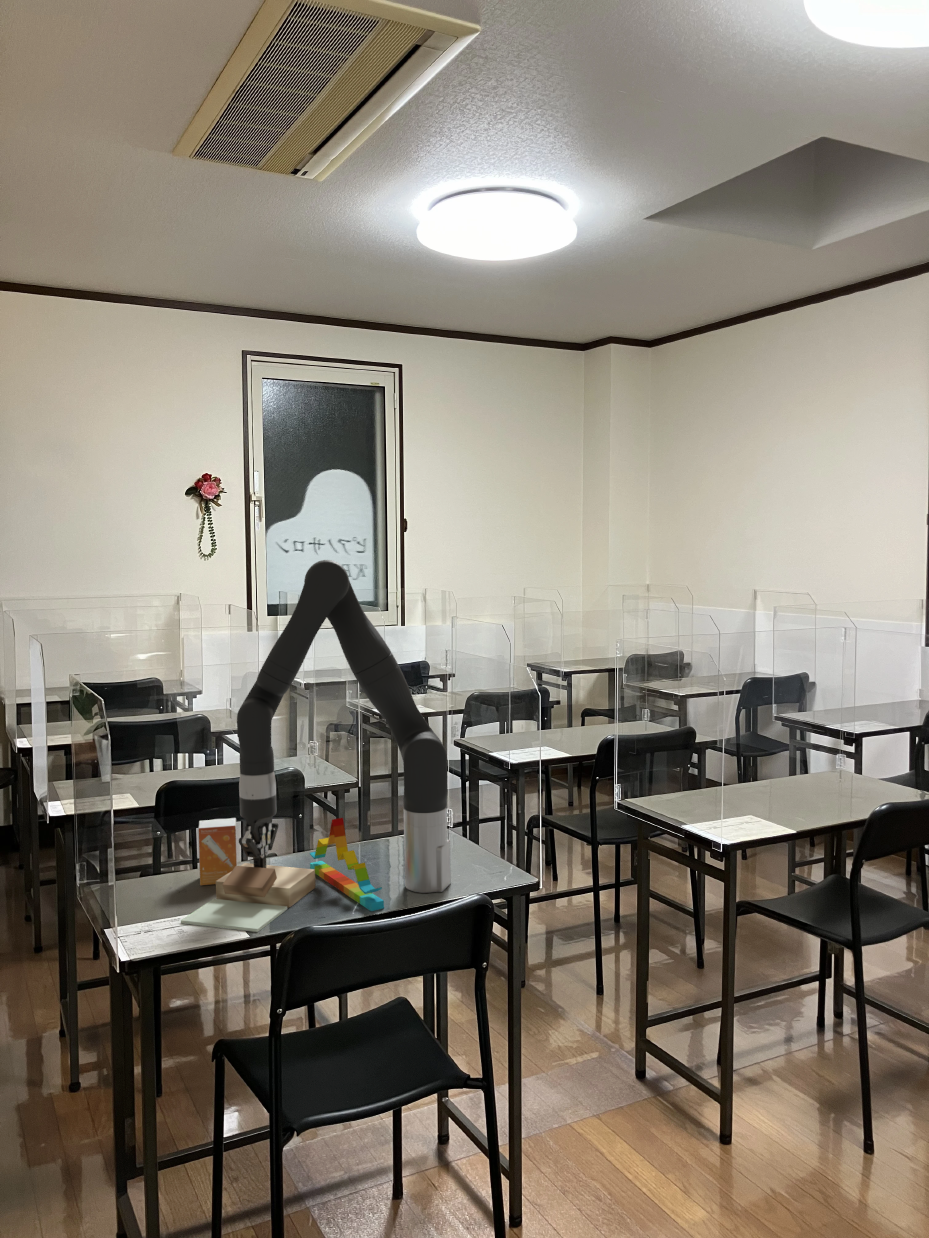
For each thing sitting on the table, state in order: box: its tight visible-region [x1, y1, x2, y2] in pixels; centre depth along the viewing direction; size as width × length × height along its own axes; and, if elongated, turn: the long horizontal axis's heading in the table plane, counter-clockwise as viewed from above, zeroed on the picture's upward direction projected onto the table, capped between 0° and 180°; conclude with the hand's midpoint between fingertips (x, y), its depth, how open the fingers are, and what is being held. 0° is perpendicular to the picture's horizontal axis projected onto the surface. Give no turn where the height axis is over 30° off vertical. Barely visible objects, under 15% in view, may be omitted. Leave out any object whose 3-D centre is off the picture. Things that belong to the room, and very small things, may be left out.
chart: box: [309, 817, 385, 912], centre depth 212 cm, size 30×3×15 cm, turn 32°
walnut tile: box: [222, 865, 277, 897], centre depth 203 cm, size 9×6×2 cm, turn 73°
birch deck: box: [215, 862, 316, 908], centre depth 209 cm, size 17×12×4 cm
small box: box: [198, 817, 238, 886], centre depth 218 cm, size 8×6×13 cm
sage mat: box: [180, 898, 288, 933], centre depth 197 cm, size 17×12×1 cm
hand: (260, 873), depth 208 cm, fingers closed
